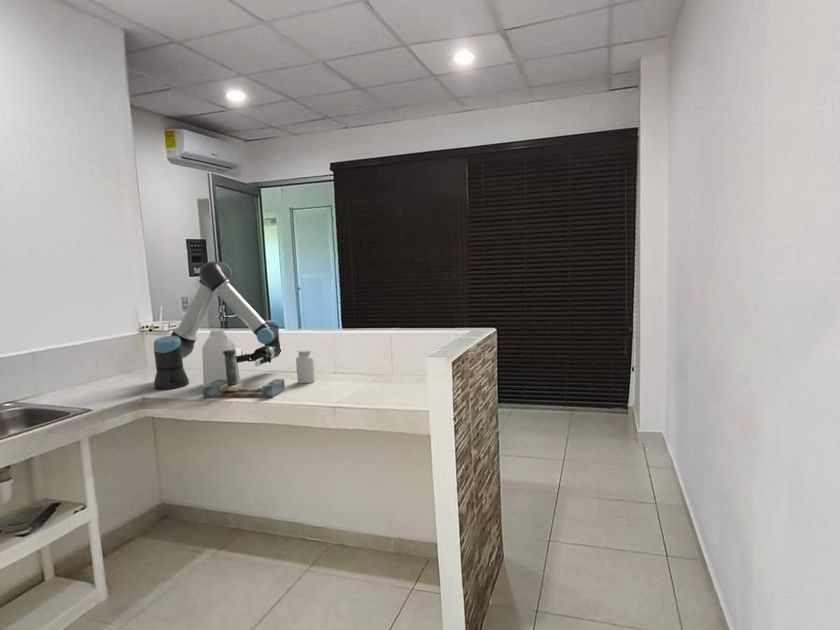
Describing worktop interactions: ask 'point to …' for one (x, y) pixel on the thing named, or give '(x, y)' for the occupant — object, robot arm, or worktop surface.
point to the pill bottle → (305, 367)
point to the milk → (216, 357)
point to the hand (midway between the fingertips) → (242, 363)
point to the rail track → (244, 390)
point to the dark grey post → (231, 373)
